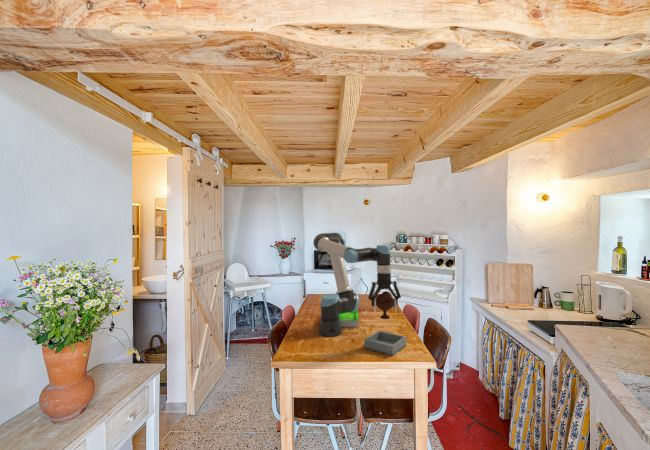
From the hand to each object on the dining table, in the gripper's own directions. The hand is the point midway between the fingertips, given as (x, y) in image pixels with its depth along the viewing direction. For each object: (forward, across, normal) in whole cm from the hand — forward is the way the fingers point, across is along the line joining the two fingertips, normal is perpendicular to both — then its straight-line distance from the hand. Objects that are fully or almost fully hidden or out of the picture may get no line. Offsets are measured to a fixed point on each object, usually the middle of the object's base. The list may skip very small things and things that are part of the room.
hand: (384, 311), depth 176 cm
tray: (+19, -17, +46) cm, 53 cm away
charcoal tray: (+19, -1, -3) cm, 19 cm away
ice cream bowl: (+4, 0, 0) cm, 4 cm away
